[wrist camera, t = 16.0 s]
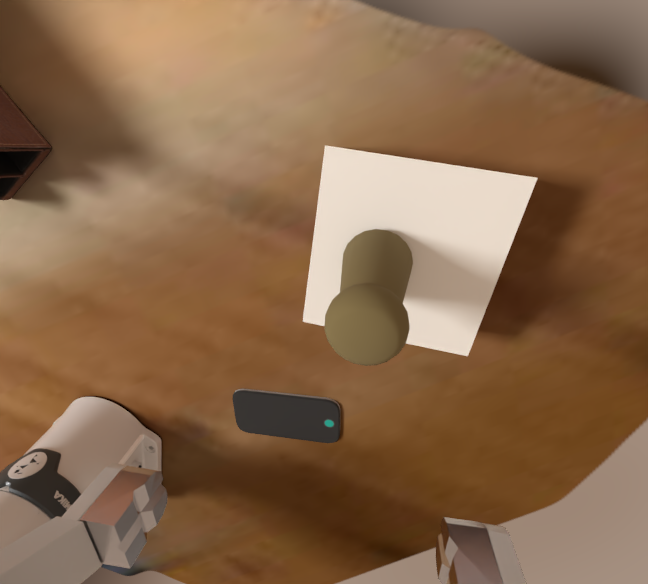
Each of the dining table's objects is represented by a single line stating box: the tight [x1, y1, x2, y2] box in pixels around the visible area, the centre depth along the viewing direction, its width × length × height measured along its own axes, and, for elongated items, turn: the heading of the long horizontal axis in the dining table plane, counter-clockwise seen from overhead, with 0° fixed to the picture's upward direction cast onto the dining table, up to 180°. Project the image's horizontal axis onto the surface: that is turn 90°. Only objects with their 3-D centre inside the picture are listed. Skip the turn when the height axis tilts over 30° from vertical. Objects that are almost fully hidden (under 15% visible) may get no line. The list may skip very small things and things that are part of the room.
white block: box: [303, 146, 537, 356], centre depth 30 cm, size 16×16×6 cm
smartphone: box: [233, 389, 340, 443], centre depth 44 cm, size 8×1×15 cm
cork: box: [325, 229, 413, 366], centre depth 23 cm, size 6×6×11 cm
